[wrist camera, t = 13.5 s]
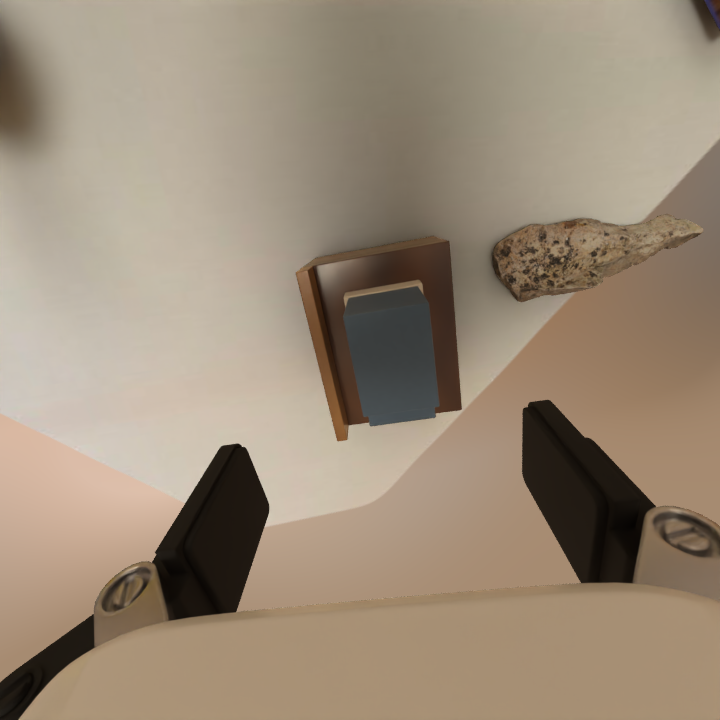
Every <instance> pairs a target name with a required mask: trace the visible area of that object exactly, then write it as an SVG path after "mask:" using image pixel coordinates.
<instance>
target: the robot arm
mask: <svg viewBox="0 0 720 720" xmlns="http://www.w3.org/2000/svg"><path fill="white" fill-rule="evenodd" d="M522 447H523V448H522V449H523V450H522V457H523V458H522V459H523V460H522V472H523V473H522V474H523V478H524V481H525V483H526V485H527V487H528V489H529V491H530V492H531V494H532V496H533V498H534V500H535V501H536V503H537V505H538V507H539V509H540V510H541V512H542V514H543V516H544V517H545V519H546V521H547V523H548V525H549V526H550V528H551V530H552V532H553V534H554V535H555V537H556V539H557V541H558V542H559V544H560V546H561V548H562V550H563V551H564V553H565V555H566V557H567V559H568V560H569V562H570V564H571V566H572V568H573V569H574V571H575V573H576V575H577V577H578V578H579V580H580V582H581V583H577V584H562V585H545V586H530V587H515V588H503V589H491V590H479V591H466V592H455V593H443V594H430V595H418V596H407V597H395V598H384V599H372V600H361V601H350V602H339V603H327V604H316V605H306V606H296V607H285V608H275V609H263V610H254V611H242V612H236V611H237V608H238V605H239V602H240V599H241V596H242V593H243V590H244V587H245V584H246V581H247V578H248V575H249V571H250V569H251V566H252V562H253V559H254V556H255V553H256V550H257V547H258V544H259V541H260V538H261V535H262V532H263V529H264V526H265V523H266V520H267V517H268V514H269V503H268V500H267V498H266V495H265V493H264V490H263V488H262V485H261V483H260V481H259V478H258V476H257V473H256V471H255V468H254V466H253V463H252V461H251V458H250V456H249V453H248V451H247V449H246V448H245V447H242V446H241V445H240V444H231V445H224V446H221V447H220V449H219V450H218V452H217V454H216V455H215V457H214V458H213V460H212V462H211V463H210V465H209V466H208V468H207V470H206V471H205V473H204V474H203V476H202V478H201V479H200V481H199V482H198V484H197V486H196V487H195V489H194V491H193V492H192V494H191V495H190V497H189V499H188V500H187V502H186V503H185V505H184V507H183V508H182V510H181V512H180V513H179V515H178V516H177V518H176V520H175V521H174V523H173V524H172V526H171V528H170V529H169V531H168V532H167V534H166V536H165V537H164V539H163V540H162V542H161V544H160V545H159V547H158V549H157V550H156V552H155V553H156V556H155V558H154V560H153V561H152V563H151V562H149V561H148V562H139V563H136V564H133V565H131V566H129V567H127V568H125V569H124V570H122V571H121V572H120V573H118V574H117V575H115V576H114V577H113V578H112V579H111V580H110V581H109V582H108V583H107V584H106V585H105V587H104V588H103V589H102V591H101V592H100V594H99V596H98V597H97V599H96V601H95V606H94V614H93V615H92V616H90V617H89V618H87V619H86V620H85V621H83V622H82V623H80V624H79V625H78V626H76V627H75V628H73V629H72V630H71V631H69V632H68V633H67V634H65V635H64V636H62V637H61V638H59V639H58V640H57V641H55V642H54V643H52V644H51V645H50V646H48V647H47V648H46V649H44V650H43V651H41V652H40V653H38V654H37V655H36V656H34V657H33V658H31V659H30V660H29V661H27V662H26V663H24V664H23V665H22V666H20V667H19V668H18V669H16V670H15V671H14V672H12V673H11V674H10V675H9V676H8V677H6V678H5V679H4V680H3V681H1V682H0V720H720V526H719V525H718V524H716V523H715V522H713V521H712V520H710V519H708V518H707V517H705V516H703V515H701V514H699V513H696V512H694V511H691V510H689V509H684V508H680V507H676V506H660V507H656V506H655V505H654V504H653V503H652V502H651V501H650V500H649V499H648V498H647V497H646V495H645V494H644V493H643V492H642V491H641V490H640V489H639V488H638V487H637V486H636V485H635V484H634V483H633V482H632V481H631V480H630V479H629V478H628V477H627V476H626V474H625V473H624V472H623V471H622V470H621V469H620V468H619V467H618V466H617V465H616V464H615V463H614V462H613V461H612V460H611V459H610V458H609V457H608V455H607V454H606V453H605V452H604V451H603V450H602V449H601V448H600V447H599V446H598V445H597V444H596V443H595V442H594V441H593V440H591V439H590V438H585V437H584V436H583V435H582V434H581V433H580V432H579V431H578V430H577V429H576V428H575V427H574V426H573V425H572V424H571V422H570V421H569V420H568V419H567V418H566V417H565V416H564V415H563V414H562V413H561V412H560V410H559V409H558V408H557V407H556V406H555V405H554V404H553V403H552V402H551V401H550V400H543V401H535V402H530V403H529V404H528V407H526V408H524V409H523V443H522Z"/></svg>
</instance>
